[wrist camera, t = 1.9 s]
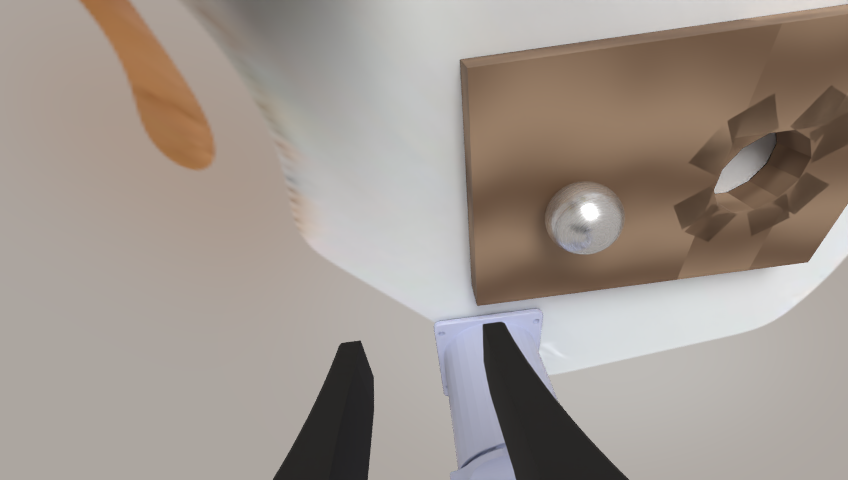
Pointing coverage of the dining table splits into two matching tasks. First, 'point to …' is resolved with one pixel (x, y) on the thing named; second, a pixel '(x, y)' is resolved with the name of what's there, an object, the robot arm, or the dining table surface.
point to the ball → (584, 218)
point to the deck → (657, 151)
